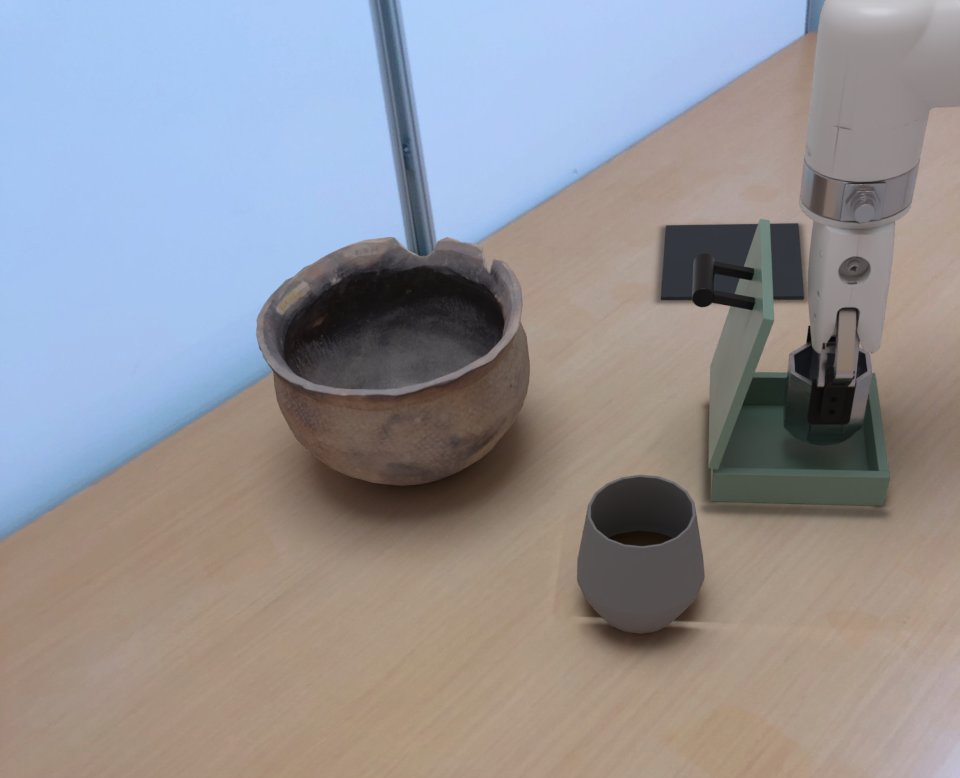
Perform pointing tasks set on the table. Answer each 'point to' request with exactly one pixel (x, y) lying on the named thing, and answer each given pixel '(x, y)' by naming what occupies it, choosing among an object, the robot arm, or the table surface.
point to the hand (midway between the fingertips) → (825, 393)
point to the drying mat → (729, 257)
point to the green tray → (799, 456)
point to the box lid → (736, 332)
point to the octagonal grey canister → (799, 391)
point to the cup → (640, 553)
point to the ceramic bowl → (398, 358)
